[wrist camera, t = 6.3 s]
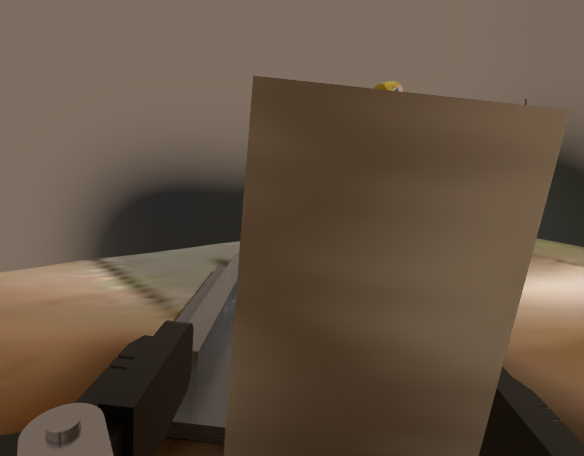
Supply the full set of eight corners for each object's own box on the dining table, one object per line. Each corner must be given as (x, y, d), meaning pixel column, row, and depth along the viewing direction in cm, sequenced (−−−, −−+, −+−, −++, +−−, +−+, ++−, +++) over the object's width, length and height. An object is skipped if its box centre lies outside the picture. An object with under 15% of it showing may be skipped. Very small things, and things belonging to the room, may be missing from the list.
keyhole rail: (334, 286, 42) (343, 220, 40) (372, 462, 18) (399, 319, 16) (218, 273, 42) (222, 207, 40) (104, 429, 18) (103, 285, 16)
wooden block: (336, 485, 17) (393, 138, 13) (371, 860, 8) (569, 109, 4) (252, 475, 17) (288, 126, 13) (193, 836, 8) (253, 75, 4)
